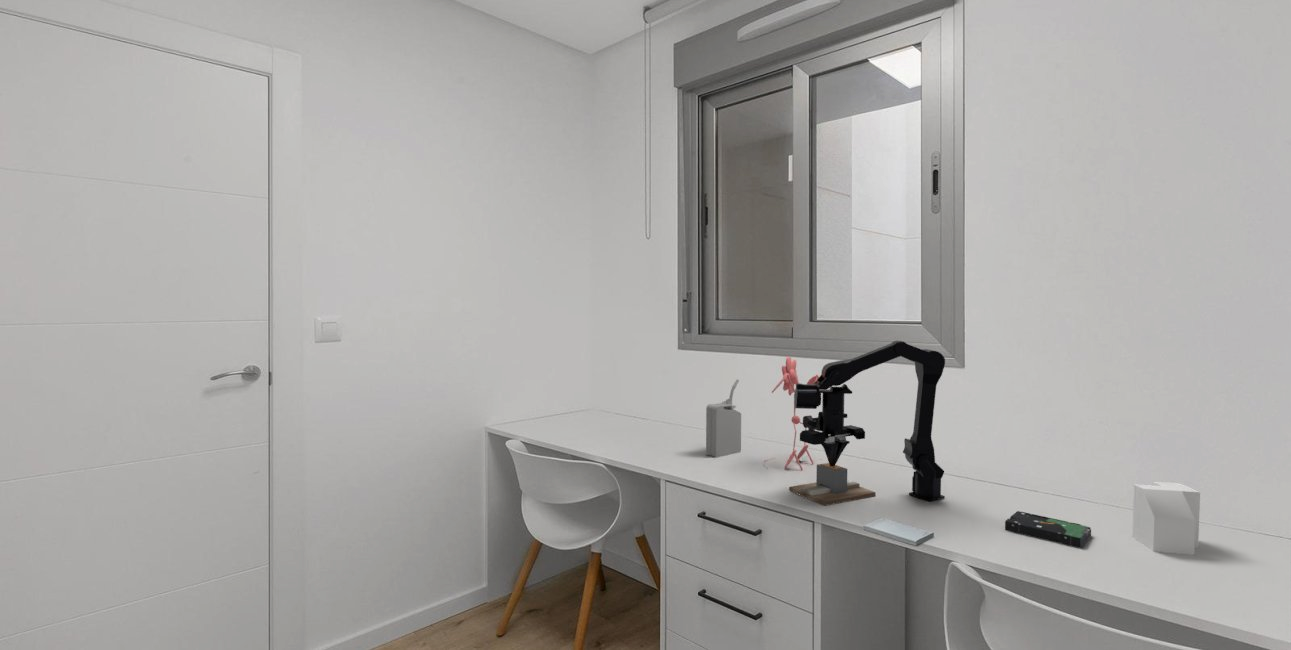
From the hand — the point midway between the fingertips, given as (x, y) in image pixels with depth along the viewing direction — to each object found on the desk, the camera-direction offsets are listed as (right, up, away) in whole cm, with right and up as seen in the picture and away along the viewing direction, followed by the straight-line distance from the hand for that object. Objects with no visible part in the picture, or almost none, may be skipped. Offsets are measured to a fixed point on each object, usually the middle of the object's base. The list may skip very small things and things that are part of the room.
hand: (832, 465), depth 167 cm
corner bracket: (+63, -9, -34) cm, 72 cm away
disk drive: (+40, -10, -28) cm, 50 cm away
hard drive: (+6, -9, -29) cm, 31 cm away
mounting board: (0, -8, 0) cm, 8 cm away
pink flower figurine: (-5, -7, +31) cm, 32 cm away
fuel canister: (-23, -6, +45) cm, 51 cm away
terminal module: (0, -7, 0) cm, 7 cm away
